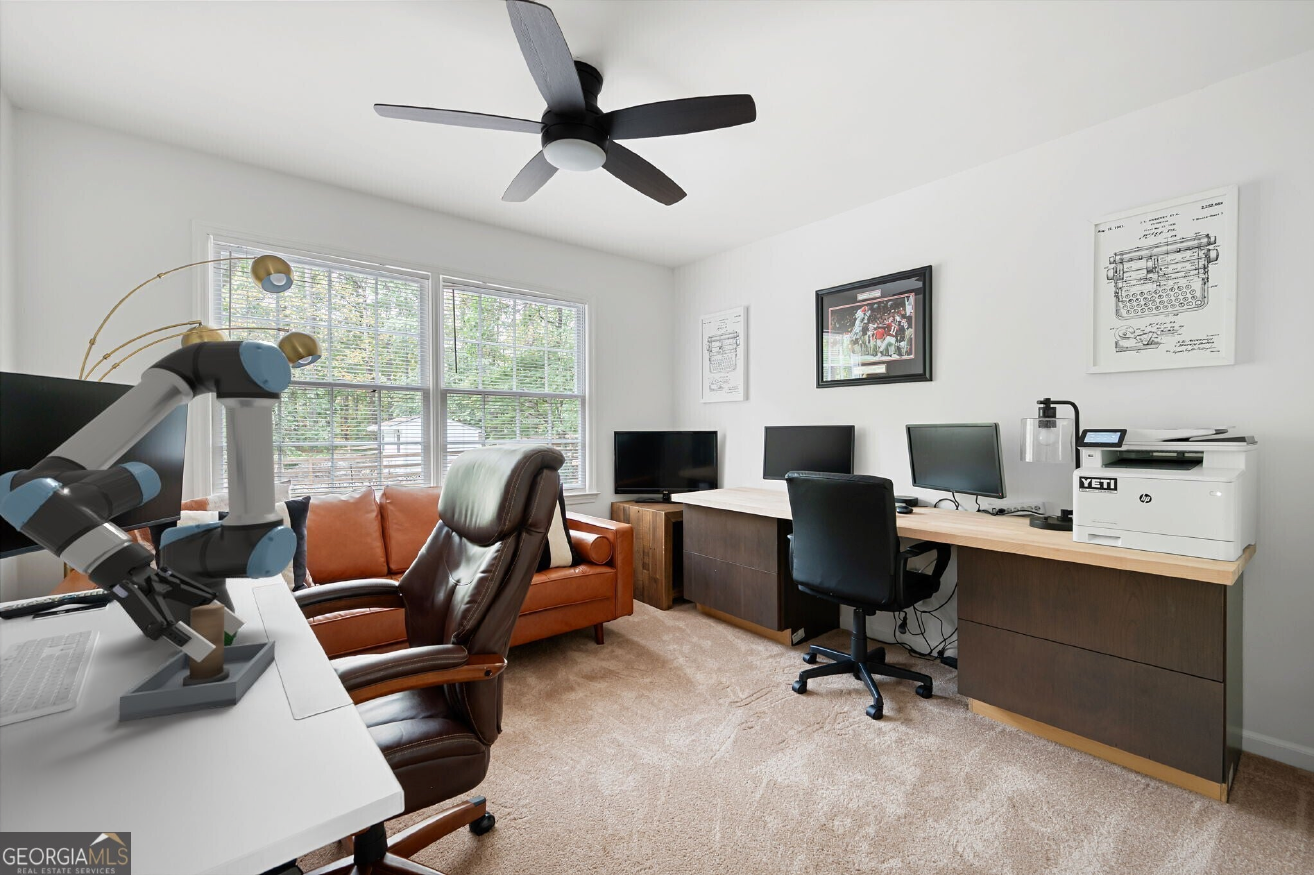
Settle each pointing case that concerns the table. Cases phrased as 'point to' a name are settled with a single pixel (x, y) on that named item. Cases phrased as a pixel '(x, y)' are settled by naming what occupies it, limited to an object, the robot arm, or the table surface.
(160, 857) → the table surface
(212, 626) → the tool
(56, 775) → the table surface
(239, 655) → the tray
